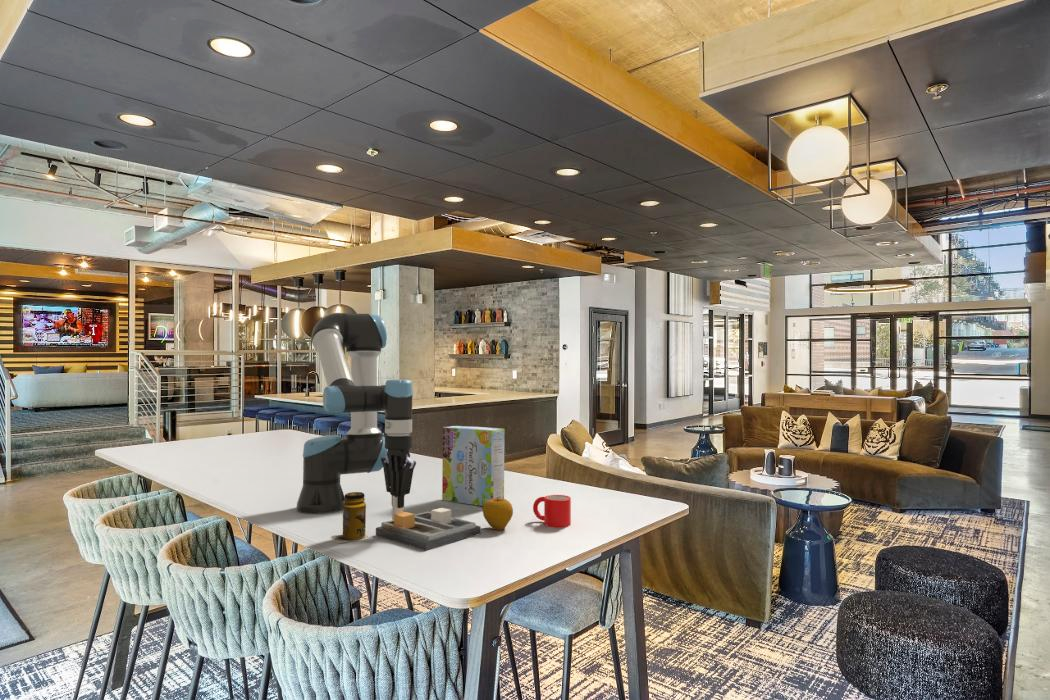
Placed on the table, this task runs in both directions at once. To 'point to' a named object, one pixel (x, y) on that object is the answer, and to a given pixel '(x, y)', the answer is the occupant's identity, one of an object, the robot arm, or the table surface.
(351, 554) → the table surface
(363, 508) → the condiment
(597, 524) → the table surface
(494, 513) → the apple
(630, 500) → the table surface
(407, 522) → the fader orange
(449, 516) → the block
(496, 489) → the snack box
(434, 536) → the grey slotted tray
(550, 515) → the mug
